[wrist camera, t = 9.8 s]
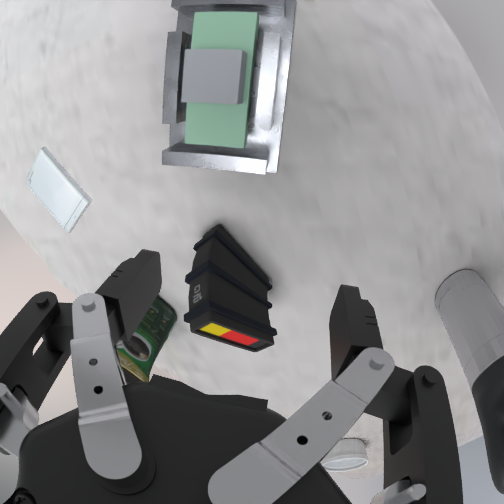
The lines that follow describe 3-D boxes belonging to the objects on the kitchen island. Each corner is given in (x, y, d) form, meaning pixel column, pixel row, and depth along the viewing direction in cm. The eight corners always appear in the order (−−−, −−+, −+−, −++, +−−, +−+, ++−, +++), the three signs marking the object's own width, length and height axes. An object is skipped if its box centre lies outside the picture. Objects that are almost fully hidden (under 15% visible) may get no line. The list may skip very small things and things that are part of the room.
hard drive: (24, 183, 38) (67, 234, 42) (40, 148, 35) (87, 203, 39) (30, 180, 40) (73, 229, 44) (47, 145, 36) (93, 199, 40)
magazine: (201, 207, 37) (210, 317, 27) (265, 252, 45) (287, 346, 36) (181, 224, 38) (184, 331, 29) (246, 264, 47) (263, 356, 37)
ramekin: (356, 452, 73) (357, 471, 67) (316, 452, 73) (315, 472, 67) (374, 435, 66) (376, 457, 60) (329, 435, 66) (329, 458, 61)
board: (200, 16, 23) (184, 5, 19) (259, 17, 23) (253, 4, 18) (191, 140, 30) (174, 149, 26) (246, 144, 30) (238, 154, 26)
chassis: (182, -1, 25) (164, -12, 20) (295, 1, 24) (296, -14, 19) (171, 160, 36) (153, 172, 31) (276, 171, 35) (273, 185, 30)
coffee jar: (119, 301, 49) (68, 381, 34) (140, 278, 46) (83, 365, 30) (161, 334, 52) (123, 418, 36) (185, 315, 49) (146, 409, 33)
